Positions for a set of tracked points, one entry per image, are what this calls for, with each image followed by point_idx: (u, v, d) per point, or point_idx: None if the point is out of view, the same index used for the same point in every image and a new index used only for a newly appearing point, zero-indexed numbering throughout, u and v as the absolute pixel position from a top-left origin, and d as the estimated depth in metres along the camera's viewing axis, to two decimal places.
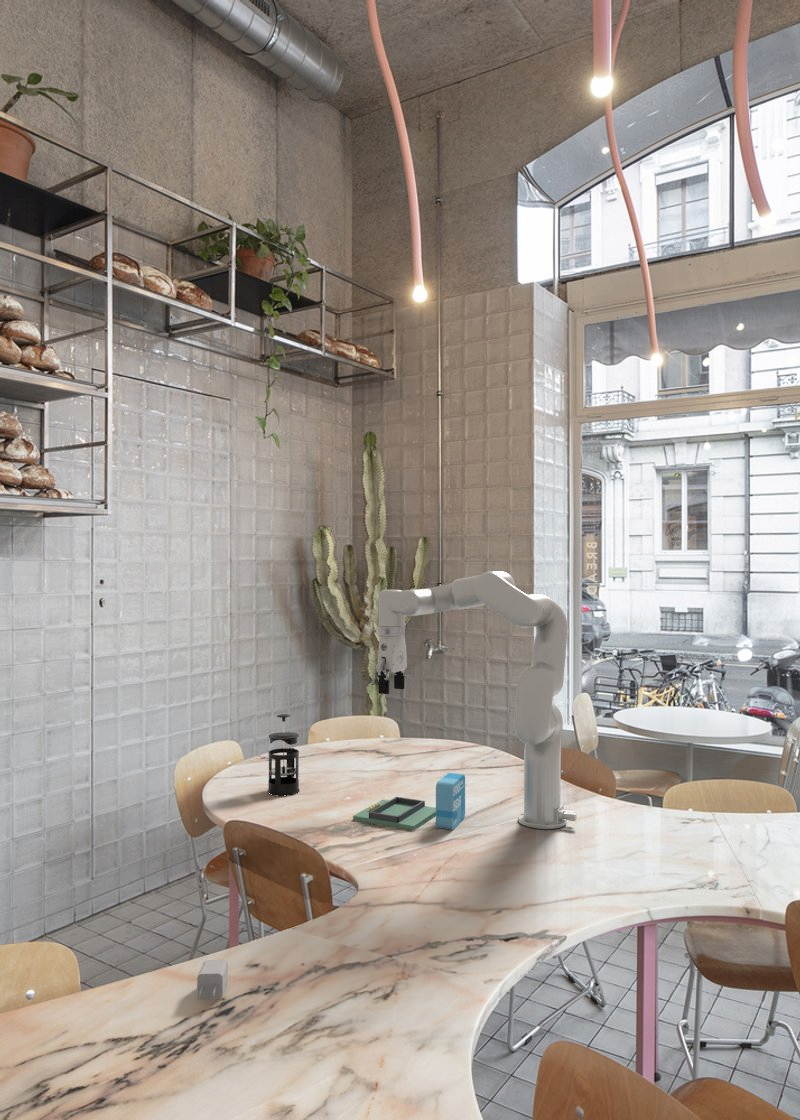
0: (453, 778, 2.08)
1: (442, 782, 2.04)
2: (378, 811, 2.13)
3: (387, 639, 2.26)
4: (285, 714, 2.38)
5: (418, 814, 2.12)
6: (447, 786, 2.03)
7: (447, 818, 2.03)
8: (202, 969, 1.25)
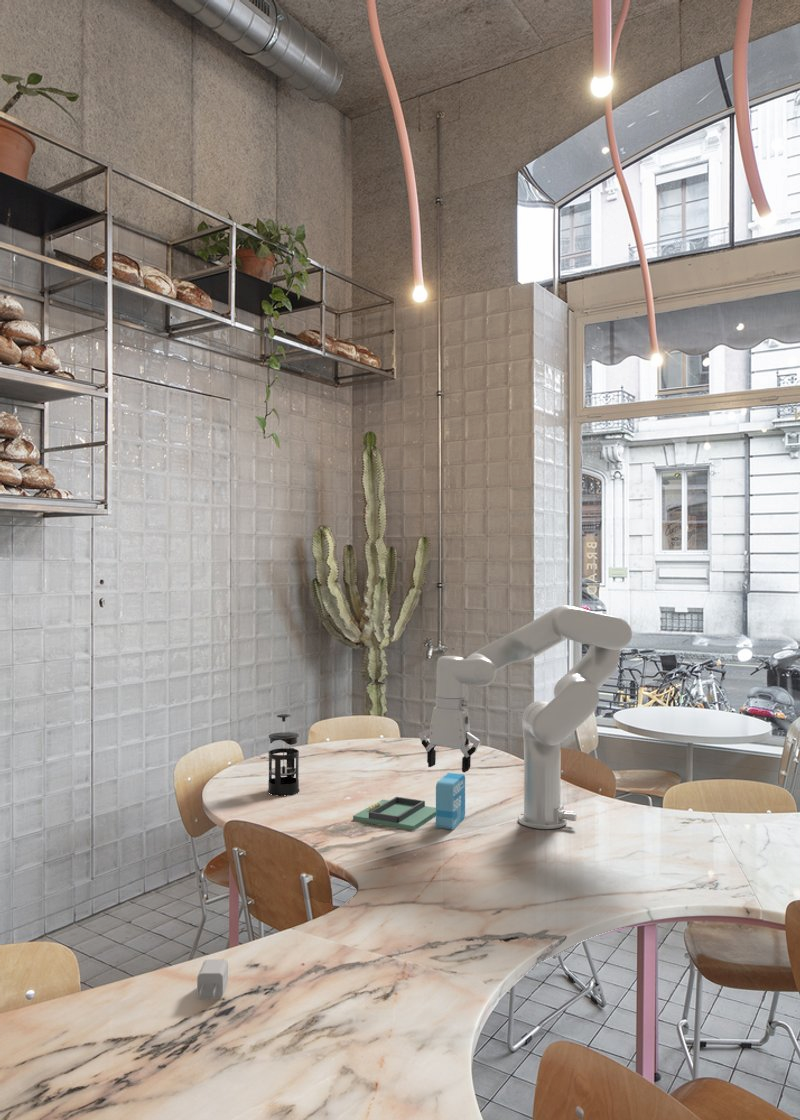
0: (453, 778, 2.08)
1: (442, 782, 2.04)
2: (378, 811, 2.13)
3: (467, 711, 2.08)
4: (285, 714, 2.38)
5: (418, 814, 2.12)
6: (447, 786, 2.03)
7: (447, 818, 2.03)
8: (202, 969, 1.26)
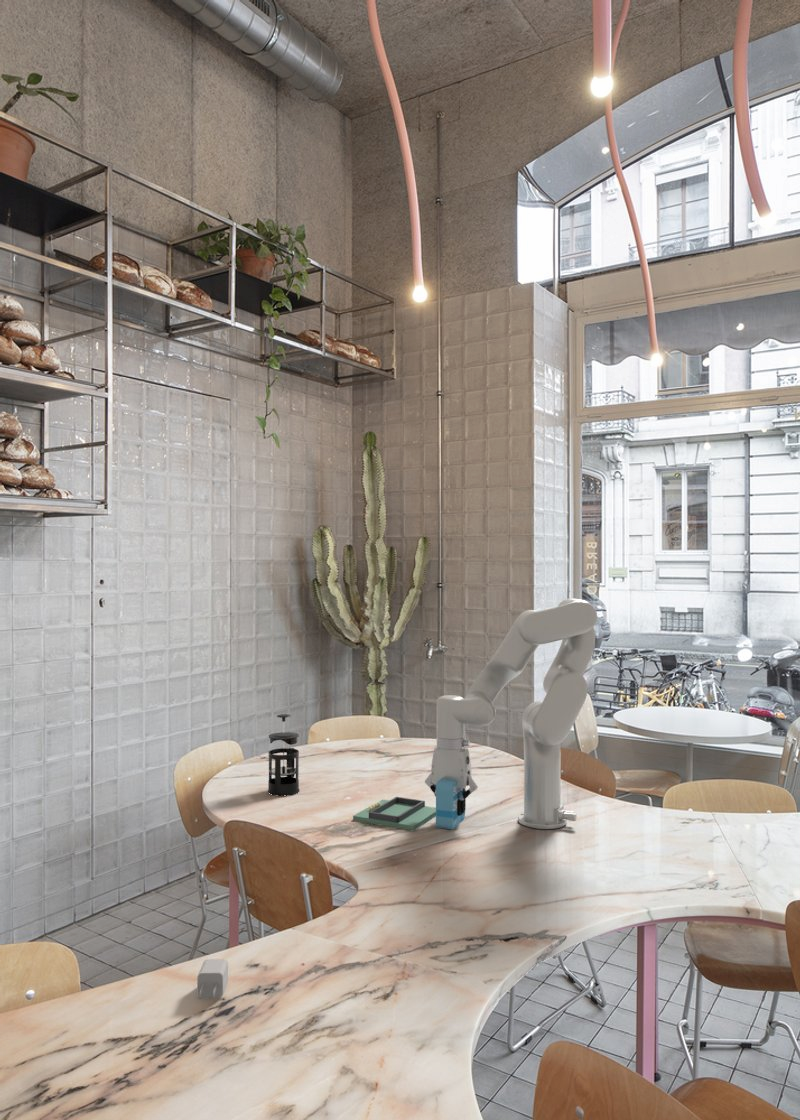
0: None
1: (442, 782, 2.04)
2: (378, 811, 2.13)
3: (468, 750, 2.07)
4: (285, 714, 2.38)
5: (418, 814, 2.12)
6: (447, 786, 2.03)
7: (447, 818, 2.03)
8: (202, 968, 1.26)
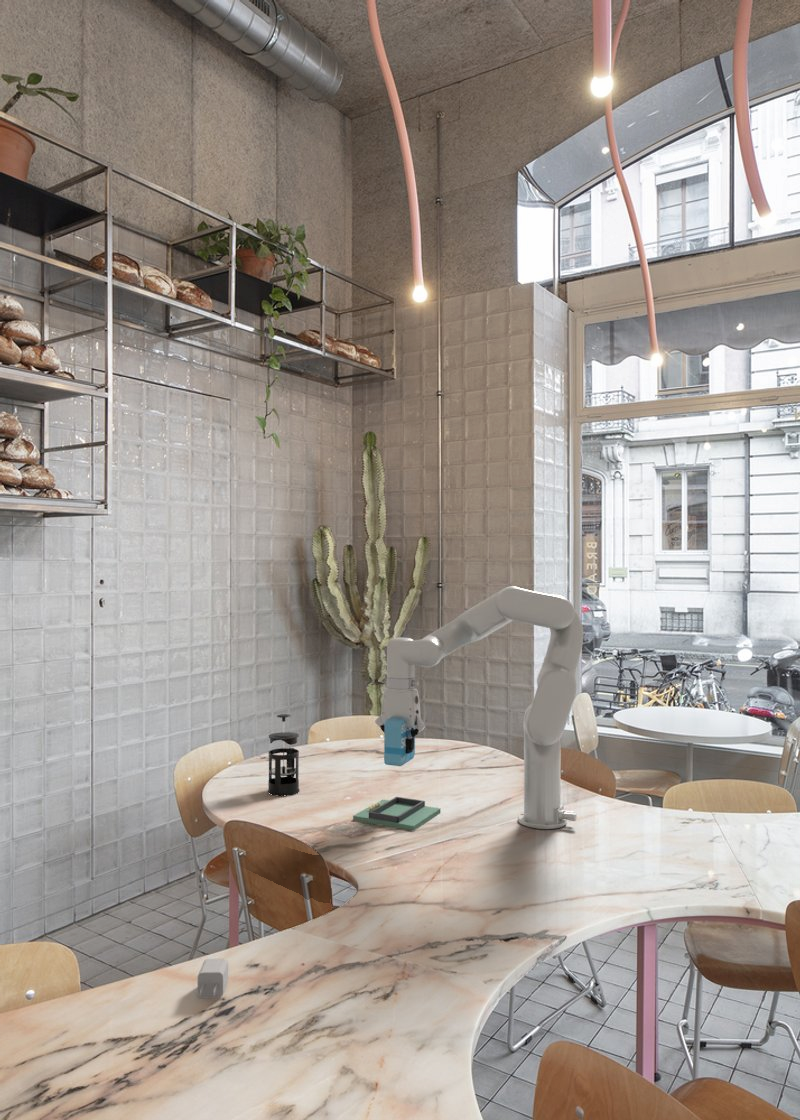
0: None
1: (390, 720, 2.09)
2: (378, 811, 2.13)
3: (417, 691, 2.13)
4: (285, 714, 2.38)
5: (418, 814, 2.12)
6: (395, 723, 2.08)
7: (395, 755, 2.08)
8: (202, 968, 1.26)
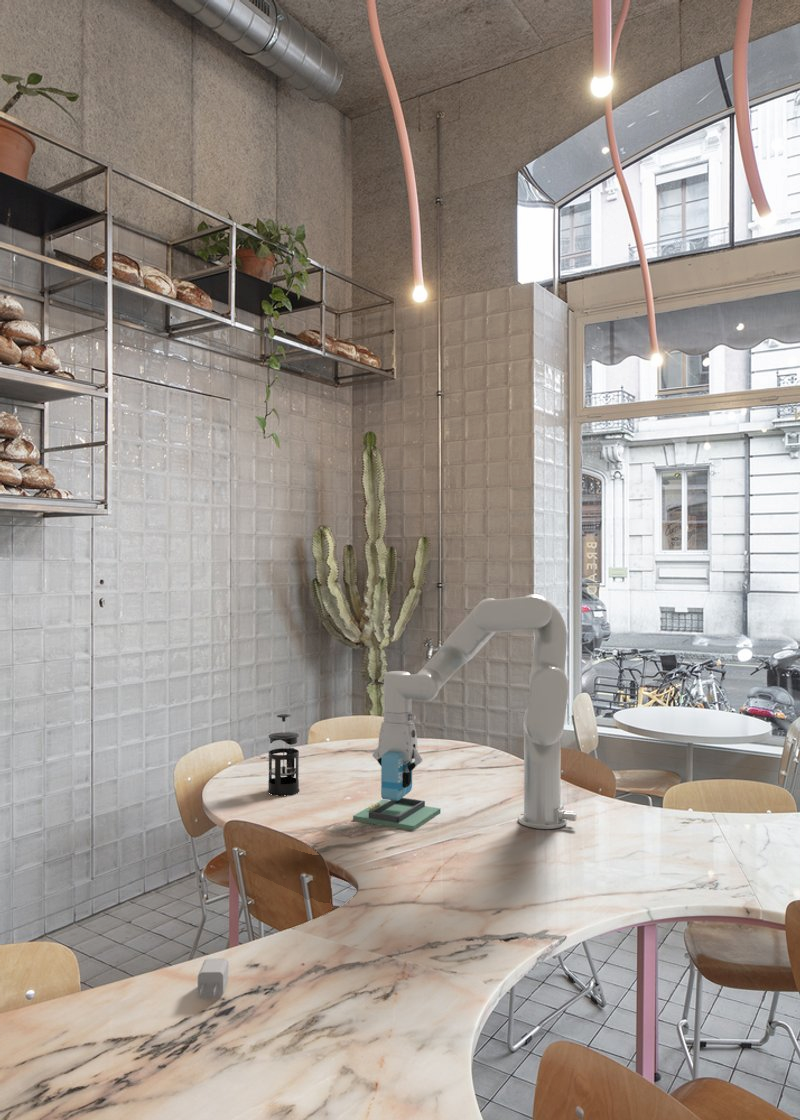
0: None
1: (387, 755, 2.10)
2: (378, 811, 2.13)
3: (414, 724, 2.13)
4: (285, 714, 2.38)
5: (418, 814, 2.12)
6: (392, 758, 2.09)
7: (392, 789, 2.08)
8: (203, 968, 1.26)
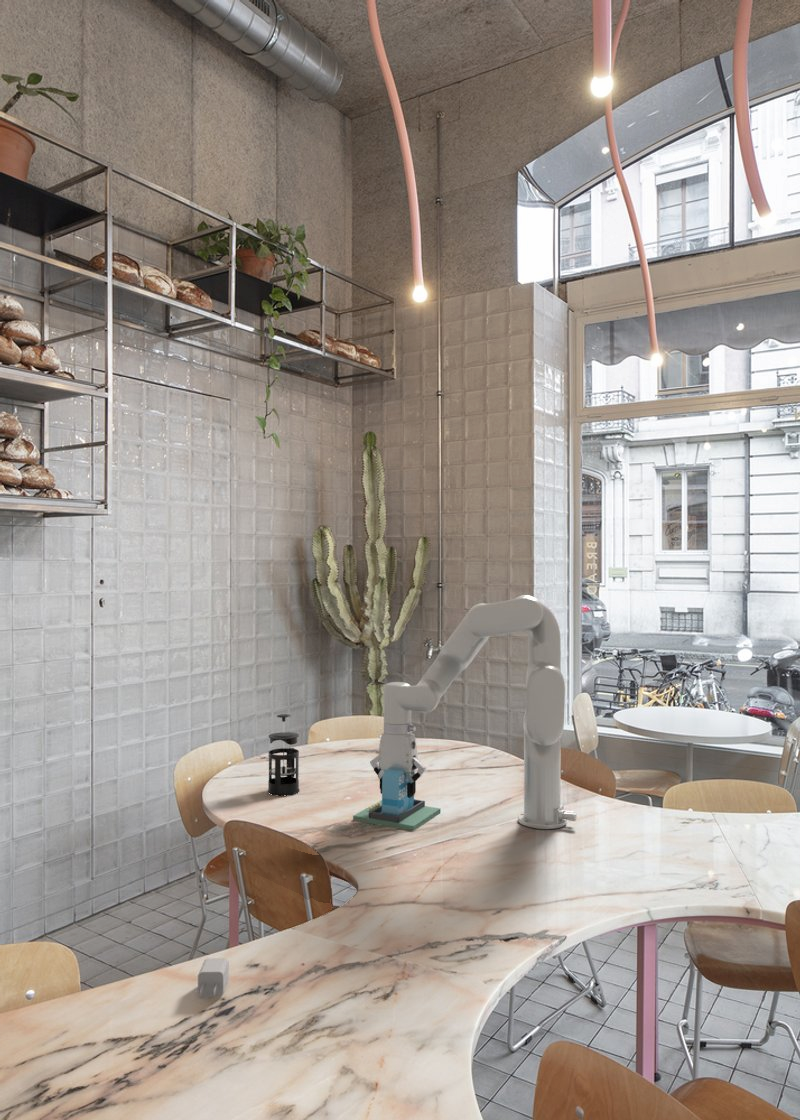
0: None
1: (388, 772, 2.10)
2: (378, 811, 2.13)
3: (414, 736, 2.13)
4: (285, 714, 2.38)
5: (418, 814, 2.12)
6: (392, 775, 2.09)
7: (392, 806, 2.08)
8: (203, 967, 1.26)
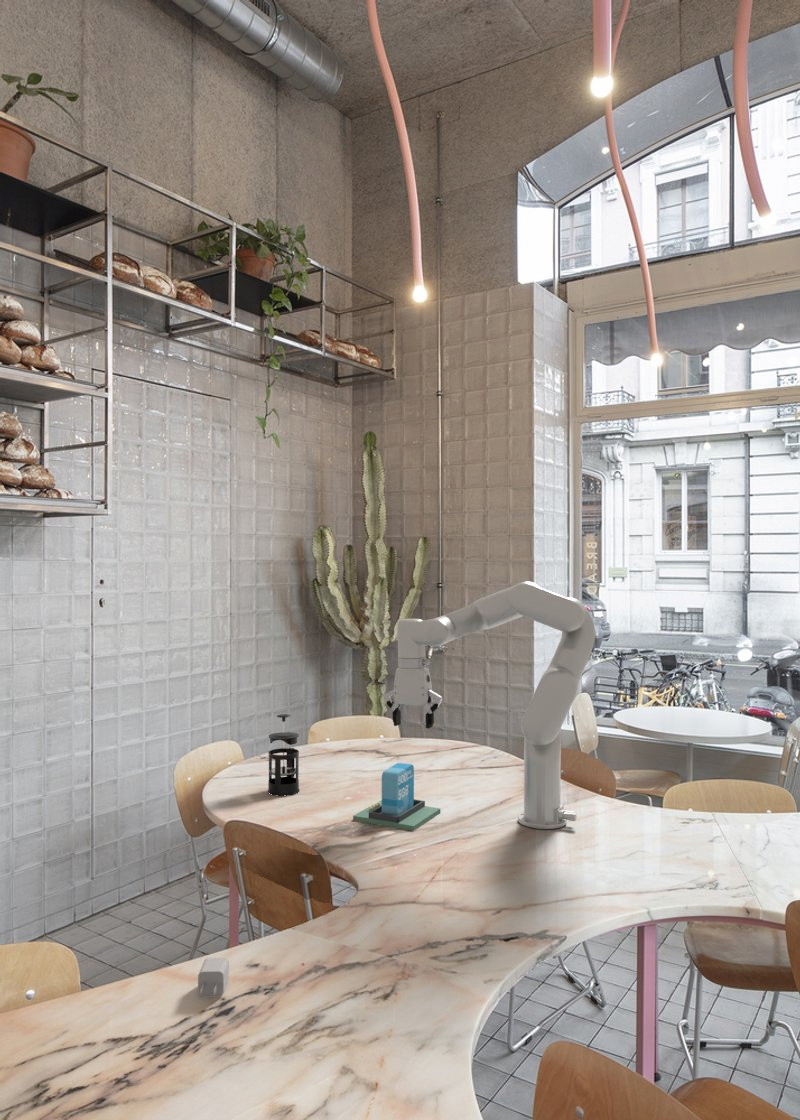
0: (400, 768, 2.13)
1: (387, 772, 2.10)
2: (378, 811, 2.13)
3: (428, 670, 2.17)
4: (285, 714, 2.38)
5: (418, 814, 2.12)
6: (392, 775, 2.09)
7: (392, 807, 2.08)
8: (203, 967, 1.26)
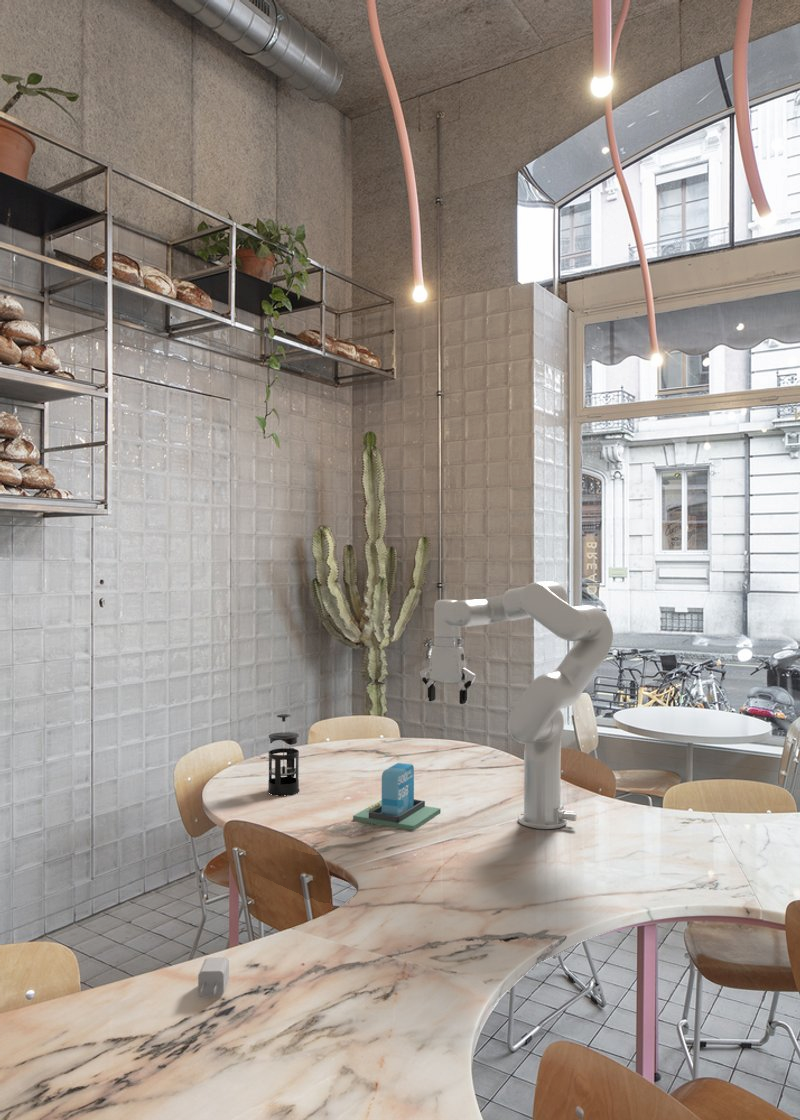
0: (400, 768, 2.13)
1: (387, 772, 2.10)
2: (378, 811, 2.13)
3: (462, 648, 2.28)
4: (285, 714, 2.38)
5: (418, 814, 2.12)
6: (392, 775, 2.09)
7: (392, 807, 2.08)
8: (203, 967, 1.26)
